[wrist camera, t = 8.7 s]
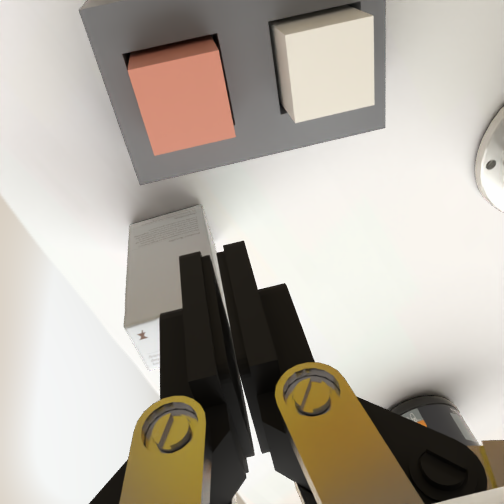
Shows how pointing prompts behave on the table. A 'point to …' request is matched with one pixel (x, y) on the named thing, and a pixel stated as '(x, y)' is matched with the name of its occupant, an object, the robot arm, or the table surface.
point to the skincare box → (161, 273)
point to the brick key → (181, 94)
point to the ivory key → (324, 61)
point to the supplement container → (437, 417)
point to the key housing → (234, 70)
